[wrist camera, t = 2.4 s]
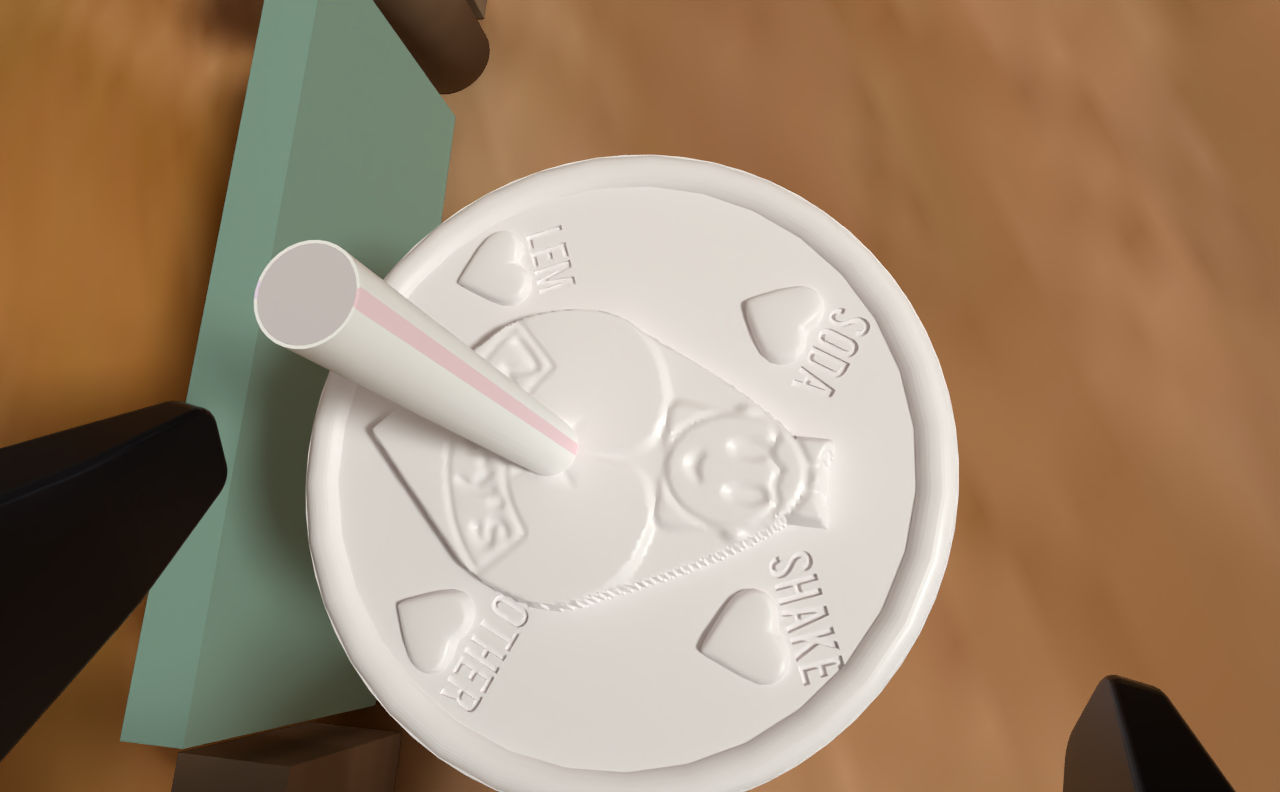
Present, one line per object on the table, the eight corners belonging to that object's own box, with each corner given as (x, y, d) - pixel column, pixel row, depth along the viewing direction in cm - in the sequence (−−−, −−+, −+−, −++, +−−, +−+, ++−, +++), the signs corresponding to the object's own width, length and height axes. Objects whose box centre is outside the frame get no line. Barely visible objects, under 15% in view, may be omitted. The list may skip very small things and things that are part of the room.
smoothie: (581, 366, 19) (32, -229, 5) (891, 394, 18) (1177, -301, 4) (533, 677, 18) (-353, 906, 4) (865, 732, 16) (1156, 1332, 3)
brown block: (387, 840, 17) (123, 987, 11) (294, 827, 18) (-17, 961, 11) (520, -189, 23) (401, -524, 16) (447, -182, 23) (300, -507, 16)
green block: (374, 705, 18) (182, 748, 12) (286, 695, 18) (61, 733, 13) (455, 117, 20) (328, -62, 15) (377, 118, 21) (226, -55, 15)
